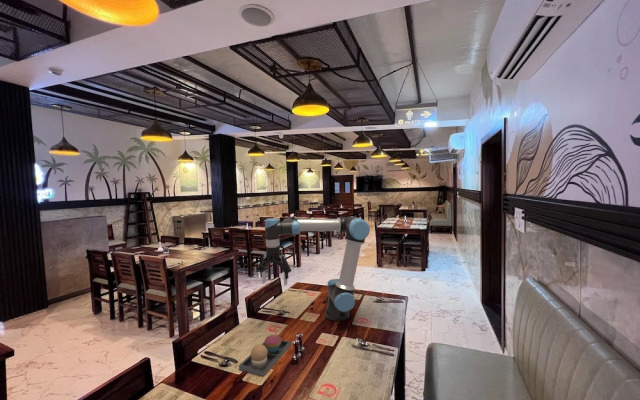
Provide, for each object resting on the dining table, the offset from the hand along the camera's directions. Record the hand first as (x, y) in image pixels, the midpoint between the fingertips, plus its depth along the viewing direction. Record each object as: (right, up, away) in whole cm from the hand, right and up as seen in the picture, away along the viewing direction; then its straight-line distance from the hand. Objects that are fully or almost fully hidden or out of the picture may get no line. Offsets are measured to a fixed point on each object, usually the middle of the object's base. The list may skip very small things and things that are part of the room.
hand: (274, 283), depth 156 cm
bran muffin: (-3, -29, -27) cm, 40 cm away
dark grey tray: (0, -30, -22) cm, 37 cm away
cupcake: (+2, -29, -16) cm, 33 cm away
